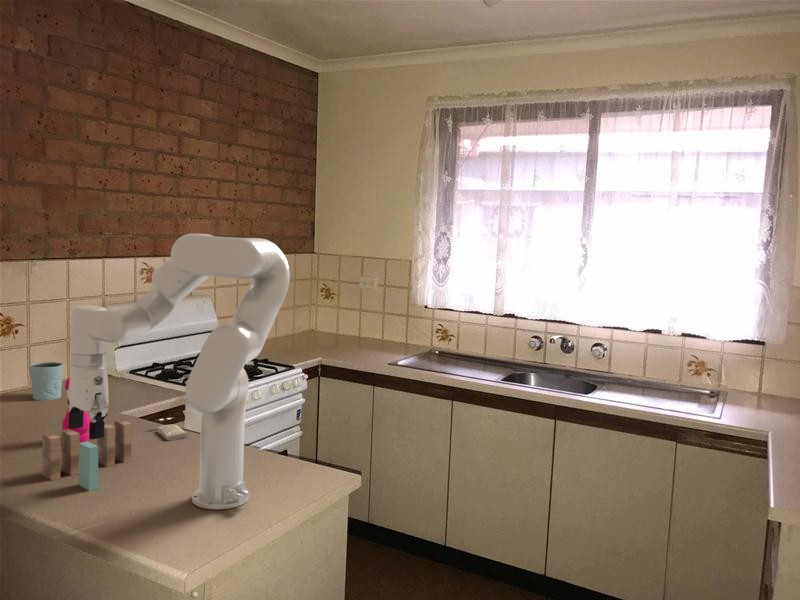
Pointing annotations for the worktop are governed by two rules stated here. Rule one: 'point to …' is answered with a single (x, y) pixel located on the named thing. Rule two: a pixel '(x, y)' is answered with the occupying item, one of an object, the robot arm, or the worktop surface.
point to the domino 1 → (51, 456)
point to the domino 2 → (70, 452)
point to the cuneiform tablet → (171, 431)
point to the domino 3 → (88, 466)
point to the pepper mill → (86, 421)
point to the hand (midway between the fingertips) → (85, 433)
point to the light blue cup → (46, 380)
